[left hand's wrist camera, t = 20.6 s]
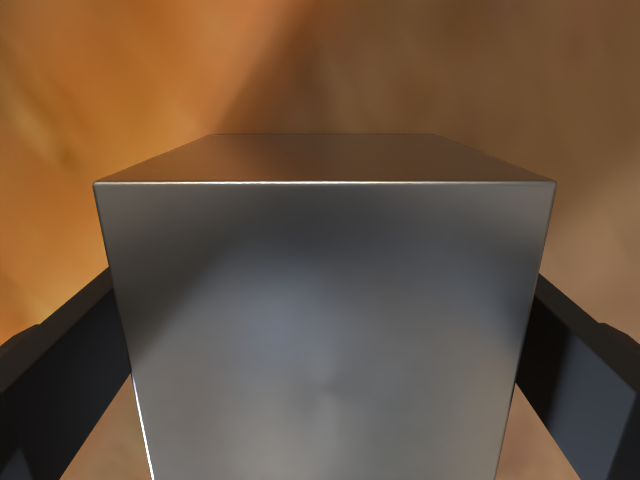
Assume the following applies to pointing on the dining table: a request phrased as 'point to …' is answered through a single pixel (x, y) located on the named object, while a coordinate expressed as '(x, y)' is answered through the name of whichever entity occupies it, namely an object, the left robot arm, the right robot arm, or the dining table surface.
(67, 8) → the dining table surface
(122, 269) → the block
